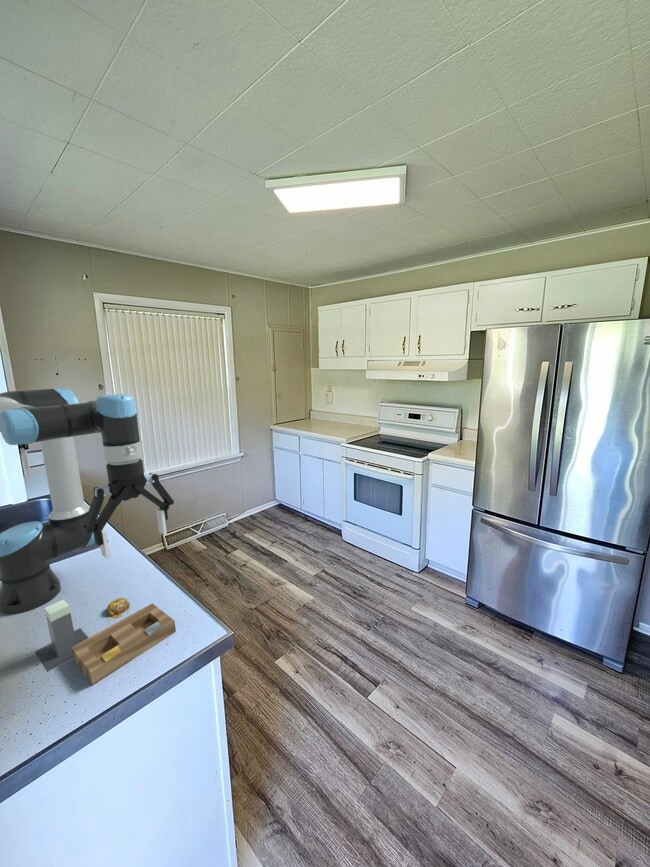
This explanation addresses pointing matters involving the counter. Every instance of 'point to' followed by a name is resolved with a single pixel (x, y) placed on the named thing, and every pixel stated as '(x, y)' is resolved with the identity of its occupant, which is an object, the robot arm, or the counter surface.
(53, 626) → the plug
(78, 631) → the mat
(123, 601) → the fruit
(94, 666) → the socket block
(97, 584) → the counter surface
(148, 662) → the counter surface
